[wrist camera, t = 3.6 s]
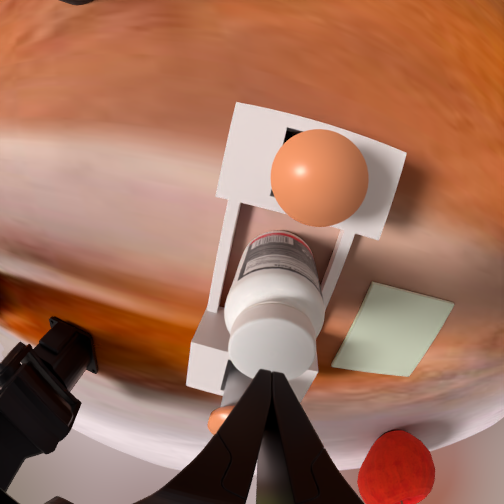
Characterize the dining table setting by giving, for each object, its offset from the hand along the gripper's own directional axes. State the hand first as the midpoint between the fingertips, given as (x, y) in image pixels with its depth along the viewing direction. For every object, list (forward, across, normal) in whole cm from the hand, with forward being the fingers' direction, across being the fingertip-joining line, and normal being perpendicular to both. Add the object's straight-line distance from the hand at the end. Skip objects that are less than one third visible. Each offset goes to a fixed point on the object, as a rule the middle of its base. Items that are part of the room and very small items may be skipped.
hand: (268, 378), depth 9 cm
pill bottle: (+13, 0, +1) cm, 13 cm away
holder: (+12, 0, +1) cm, 13 cm away
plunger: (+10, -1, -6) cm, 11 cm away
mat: (+12, -12, +5) cm, 18 cm away
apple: (+13, -22, +23) cm, 34 cm away
